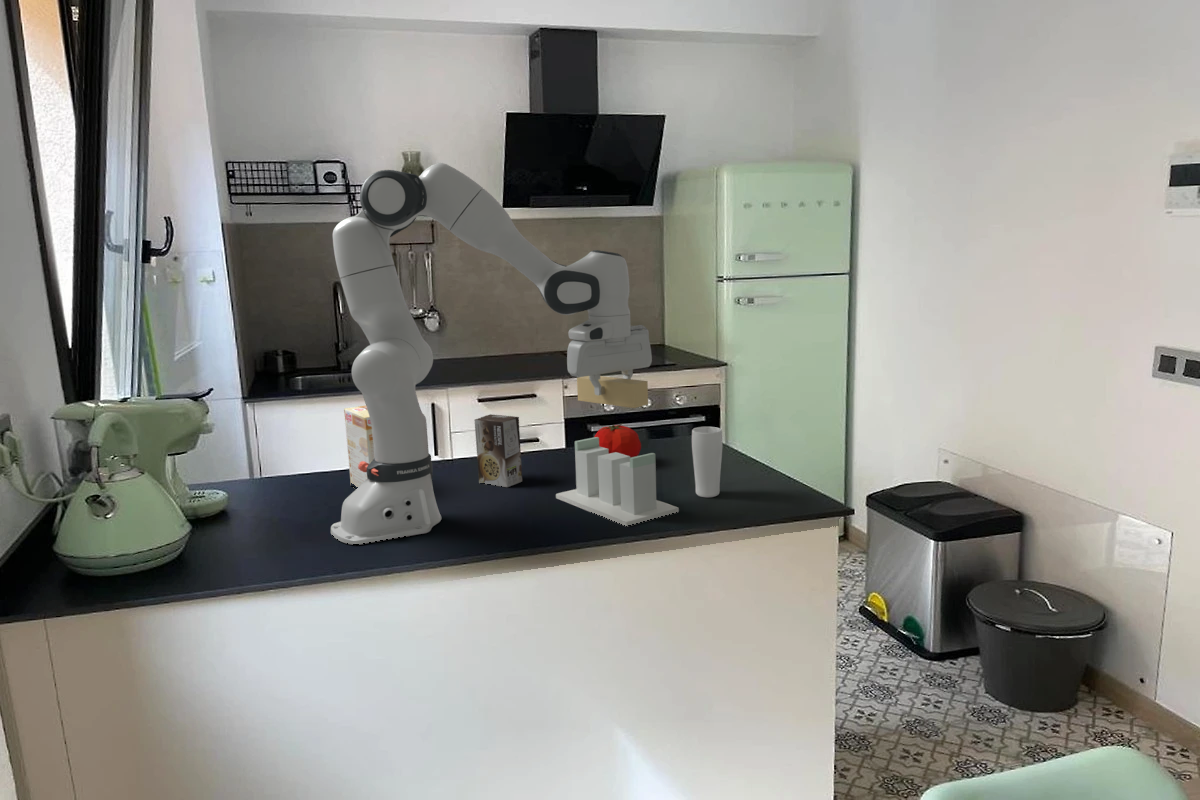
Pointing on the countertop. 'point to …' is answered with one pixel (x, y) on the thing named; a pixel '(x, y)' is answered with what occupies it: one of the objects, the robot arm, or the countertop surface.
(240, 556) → the countertop surface
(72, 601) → the countertop surface
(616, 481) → the display stand
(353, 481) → the coffeecake box
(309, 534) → the countertop surface
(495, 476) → the coffee box
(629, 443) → the tomato
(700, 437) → the drinking glass
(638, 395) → the tan wooden plank
